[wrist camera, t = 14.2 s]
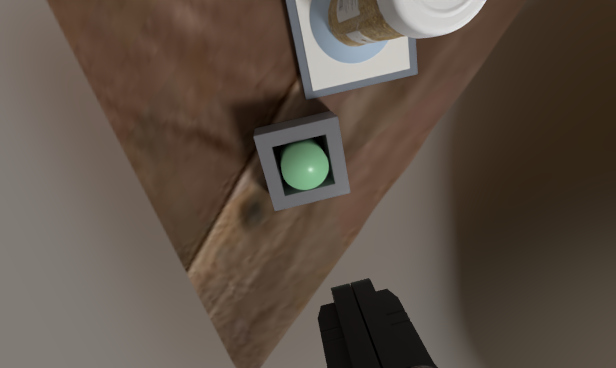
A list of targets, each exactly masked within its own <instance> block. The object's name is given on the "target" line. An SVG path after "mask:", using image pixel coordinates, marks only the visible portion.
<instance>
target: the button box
mask: <svg viewBox="0 0 616 368" xmlns="http://www.w3.org/2000/svg"><path fill="white" fill-rule="evenodd" d="M321 135H322V139H323V144H324V149H325V154H326V157H327V159H328V163H329V172H328V174H327V176H326V178H325V180H324V181H323V182H322V183H321V184H320V185H318V186H317V187H315V188H312V189H308V190H300V189H296V188H294V187H292V186H290V185H289V184H288V183H283V181H282V177H281V174H280V170H279V166H278V162H277V158H276V155H275V151H274V146H279V145H283V144H287V143H291V142H295V141H300V140H304V139H308V138H312V137H316V136H321ZM253 137H254V140H255V144H256V147H257V151H258V154H259V158H260V161H261V165H262V168H263V172H264V175H265V179H266V182H267V186H268V189H269V193H270V196H271V200H272V203H273V206H274V210H275V211H278V210H282V209H286V208H290V207H294V206H298V205H302V204H307V203H311V202H315V201H319V200H323V199H327V198H331V197H335V196H339V195H343V194H347V193H350V187H349V181H348V175H347V169H346V163H345V158H344V152H343V146H342V140H341V134H340V128H339V122H338V117H337V116H336V115H335V114H334V113H333V112H331V111H327V112H323V113H319V114H314V115H310V116H306V117H302V118H297V119H293V120H289V121H285V122H280V123H276V124H272V125H268V126H263V127H259V128H255V130H254V136H253Z"/></svg>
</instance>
